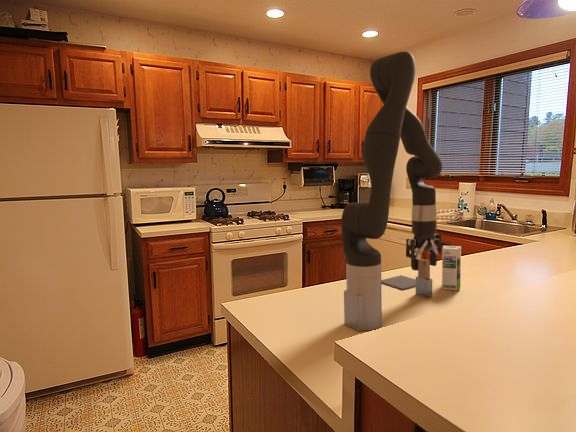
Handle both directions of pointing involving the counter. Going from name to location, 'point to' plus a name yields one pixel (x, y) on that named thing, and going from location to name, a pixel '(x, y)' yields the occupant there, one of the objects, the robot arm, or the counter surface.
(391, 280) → the mat
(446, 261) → the syrup box
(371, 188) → the robot arm
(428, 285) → the brown piece
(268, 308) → the counter surface
